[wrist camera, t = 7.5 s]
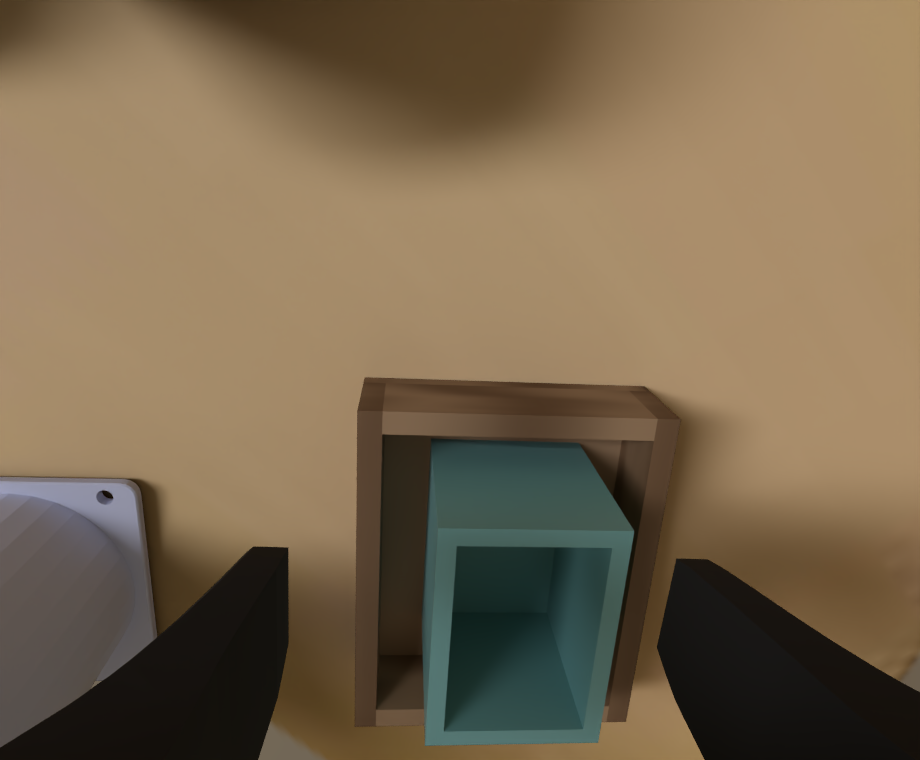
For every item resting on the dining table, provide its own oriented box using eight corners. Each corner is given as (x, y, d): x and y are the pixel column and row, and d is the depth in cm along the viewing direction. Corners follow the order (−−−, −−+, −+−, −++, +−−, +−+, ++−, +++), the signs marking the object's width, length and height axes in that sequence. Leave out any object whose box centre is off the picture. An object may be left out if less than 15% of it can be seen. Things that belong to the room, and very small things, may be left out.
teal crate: (421, 614, 23) (424, 745, 18) (430, 438, 21) (438, 528, 15) (555, 615, 23) (597, 742, 18) (578, 442, 21) (634, 531, 16)
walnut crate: (361, 660, 24) (354, 726, 21) (364, 377, 20) (357, 410, 17) (601, 658, 25) (625, 721, 22) (644, 386, 21) (680, 419, 18)
